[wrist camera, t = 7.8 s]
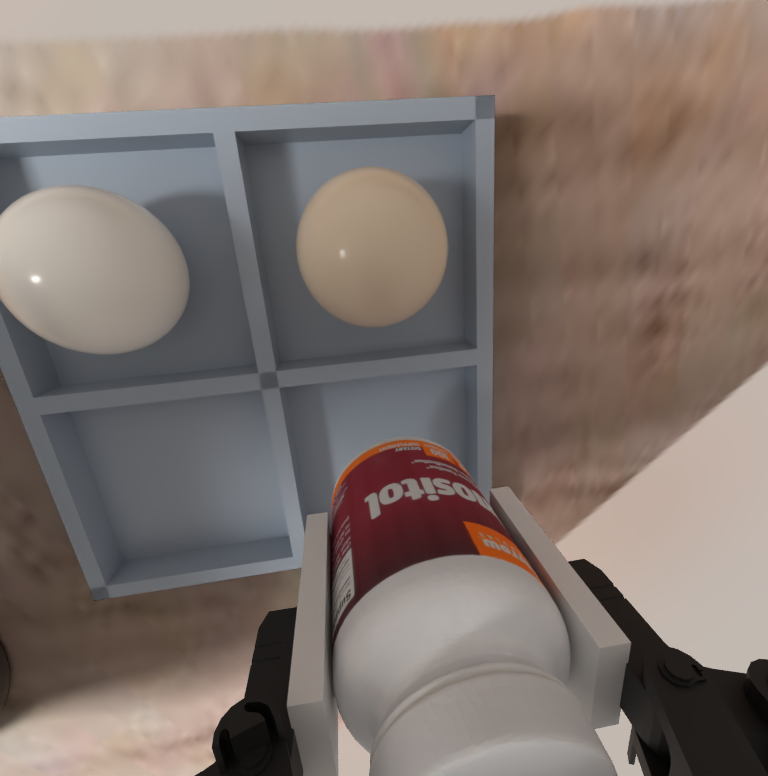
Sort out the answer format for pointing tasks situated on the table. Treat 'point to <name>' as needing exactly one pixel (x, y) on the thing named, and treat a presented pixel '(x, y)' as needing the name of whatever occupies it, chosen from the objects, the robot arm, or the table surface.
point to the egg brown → (372, 246)
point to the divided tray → (249, 334)
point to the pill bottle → (446, 628)
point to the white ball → (91, 270)
